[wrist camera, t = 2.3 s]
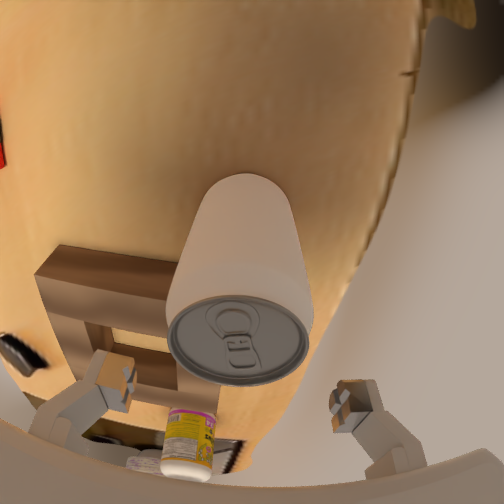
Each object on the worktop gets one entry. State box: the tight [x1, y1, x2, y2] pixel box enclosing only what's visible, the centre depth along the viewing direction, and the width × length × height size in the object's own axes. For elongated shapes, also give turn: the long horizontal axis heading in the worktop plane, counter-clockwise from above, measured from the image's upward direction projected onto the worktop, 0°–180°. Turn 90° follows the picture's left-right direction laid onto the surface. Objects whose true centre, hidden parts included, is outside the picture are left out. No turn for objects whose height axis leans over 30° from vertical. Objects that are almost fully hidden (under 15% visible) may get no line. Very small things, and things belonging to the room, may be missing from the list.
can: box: [166, 173, 314, 387], centre depth 17 cm, size 6×6×12 cm
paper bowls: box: [126, 449, 167, 477], centre depth 48 cm, size 15×15×8 cm
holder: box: [34, 245, 221, 414], centre depth 26 cm, size 16×16×4 cm
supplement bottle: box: [160, 408, 216, 483], centre depth 33 cm, size 7×7×13 cm
